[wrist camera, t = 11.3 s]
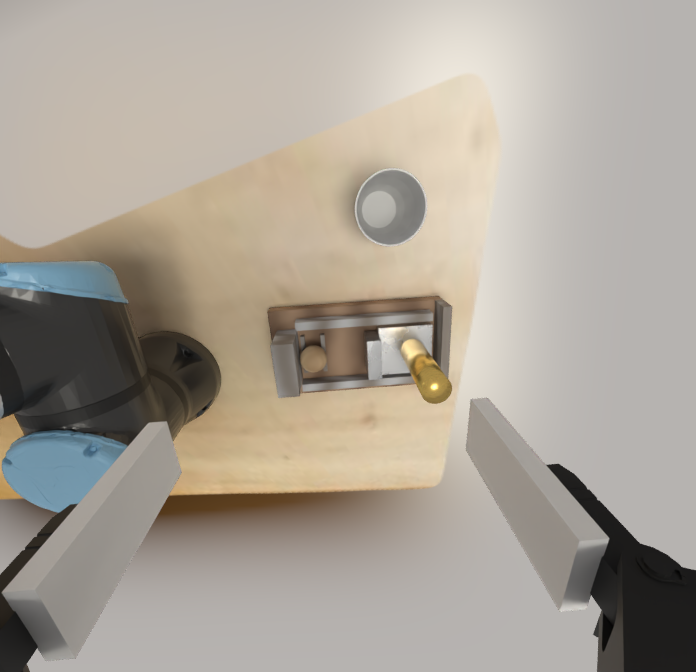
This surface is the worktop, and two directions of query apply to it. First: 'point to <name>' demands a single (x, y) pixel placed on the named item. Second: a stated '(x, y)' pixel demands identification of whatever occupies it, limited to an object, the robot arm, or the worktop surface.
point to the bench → (348, 341)
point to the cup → (391, 207)
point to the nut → (313, 358)
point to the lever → (406, 357)
